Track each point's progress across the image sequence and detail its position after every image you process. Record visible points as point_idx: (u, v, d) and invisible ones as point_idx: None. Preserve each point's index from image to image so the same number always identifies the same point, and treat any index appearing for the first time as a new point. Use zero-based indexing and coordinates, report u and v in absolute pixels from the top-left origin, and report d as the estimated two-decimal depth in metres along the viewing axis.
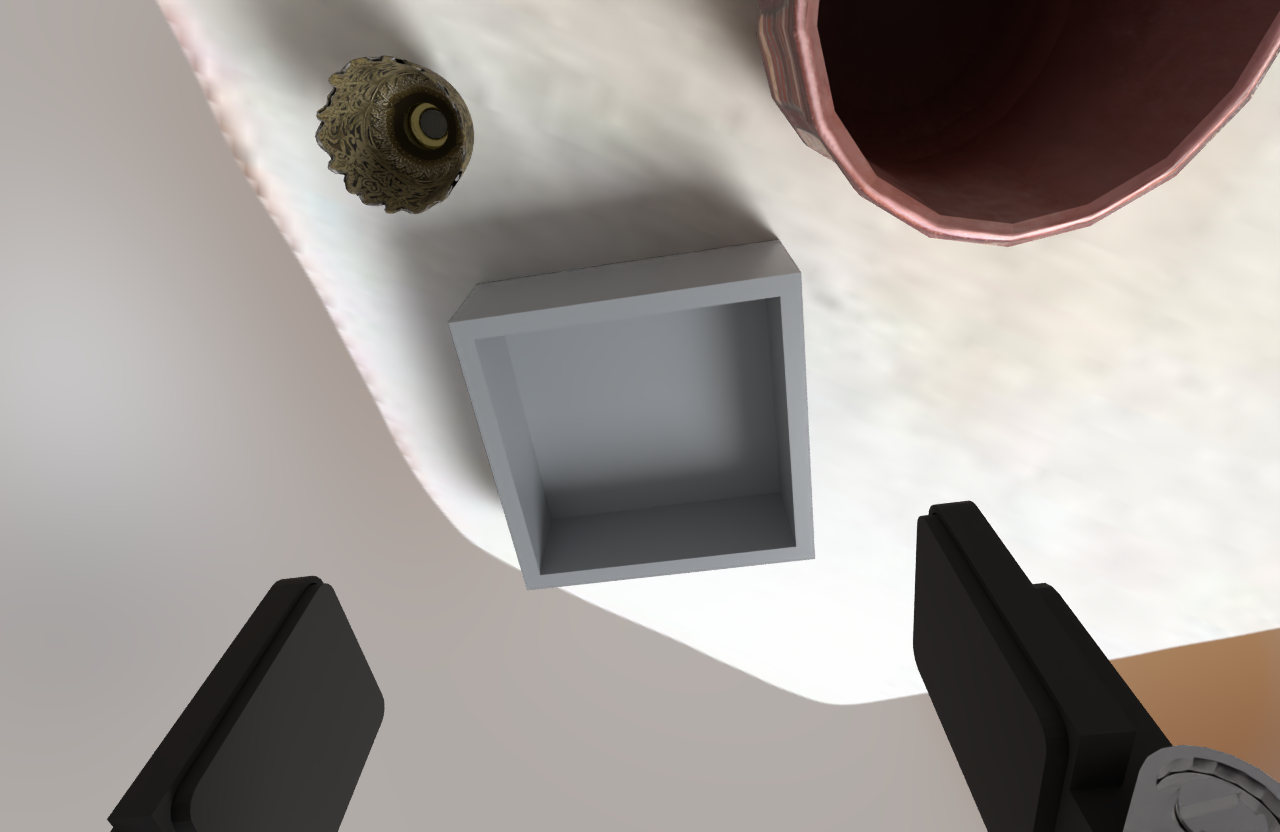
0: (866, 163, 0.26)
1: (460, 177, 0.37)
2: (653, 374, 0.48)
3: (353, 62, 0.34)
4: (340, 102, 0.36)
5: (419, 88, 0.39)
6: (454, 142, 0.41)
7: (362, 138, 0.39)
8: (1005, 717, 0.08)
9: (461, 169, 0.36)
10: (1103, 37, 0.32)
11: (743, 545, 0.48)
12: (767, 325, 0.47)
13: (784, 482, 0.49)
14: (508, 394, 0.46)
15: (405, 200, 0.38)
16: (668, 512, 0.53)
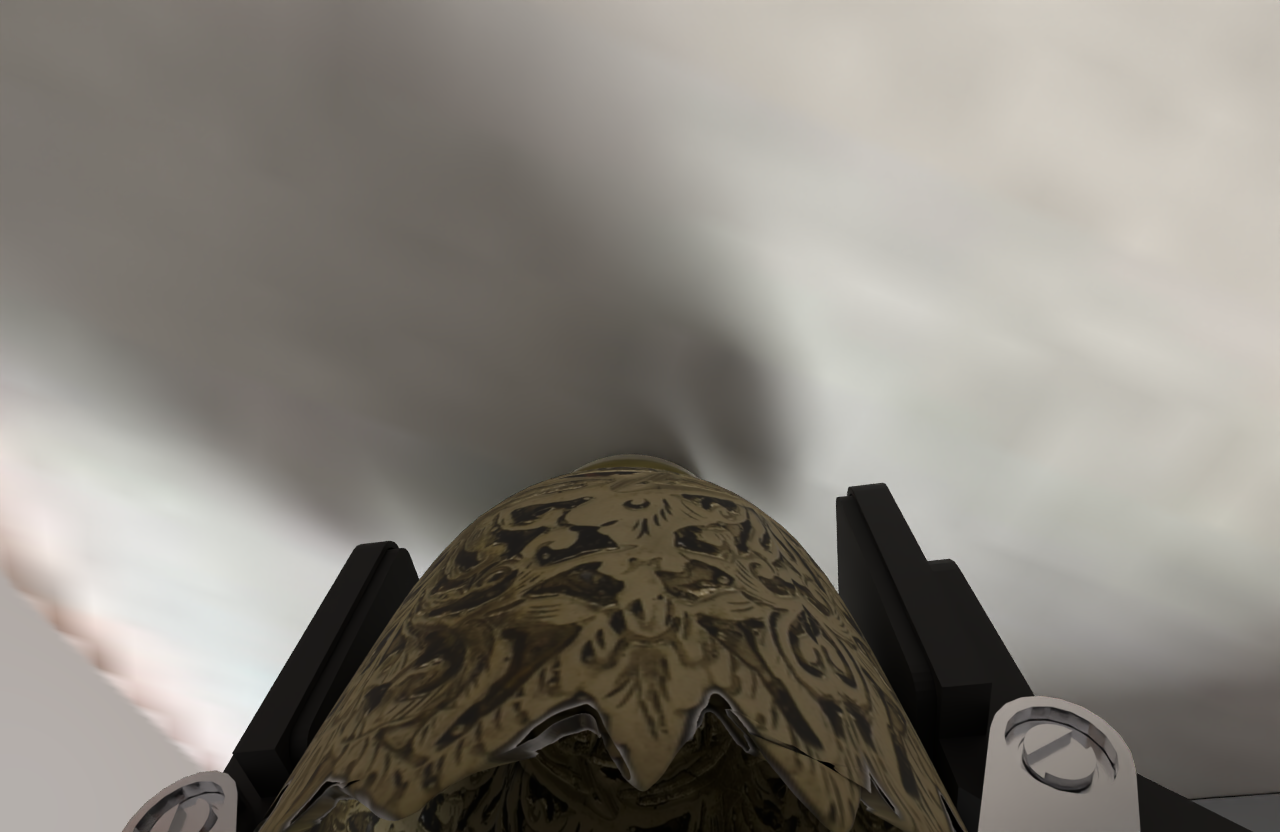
0: None
1: None
2: None
3: (417, 807, 0.05)
4: None
5: None
6: None
7: None
8: (893, 676, 0.08)
9: None
10: None
11: None
12: None
13: None
14: None
15: None
16: None
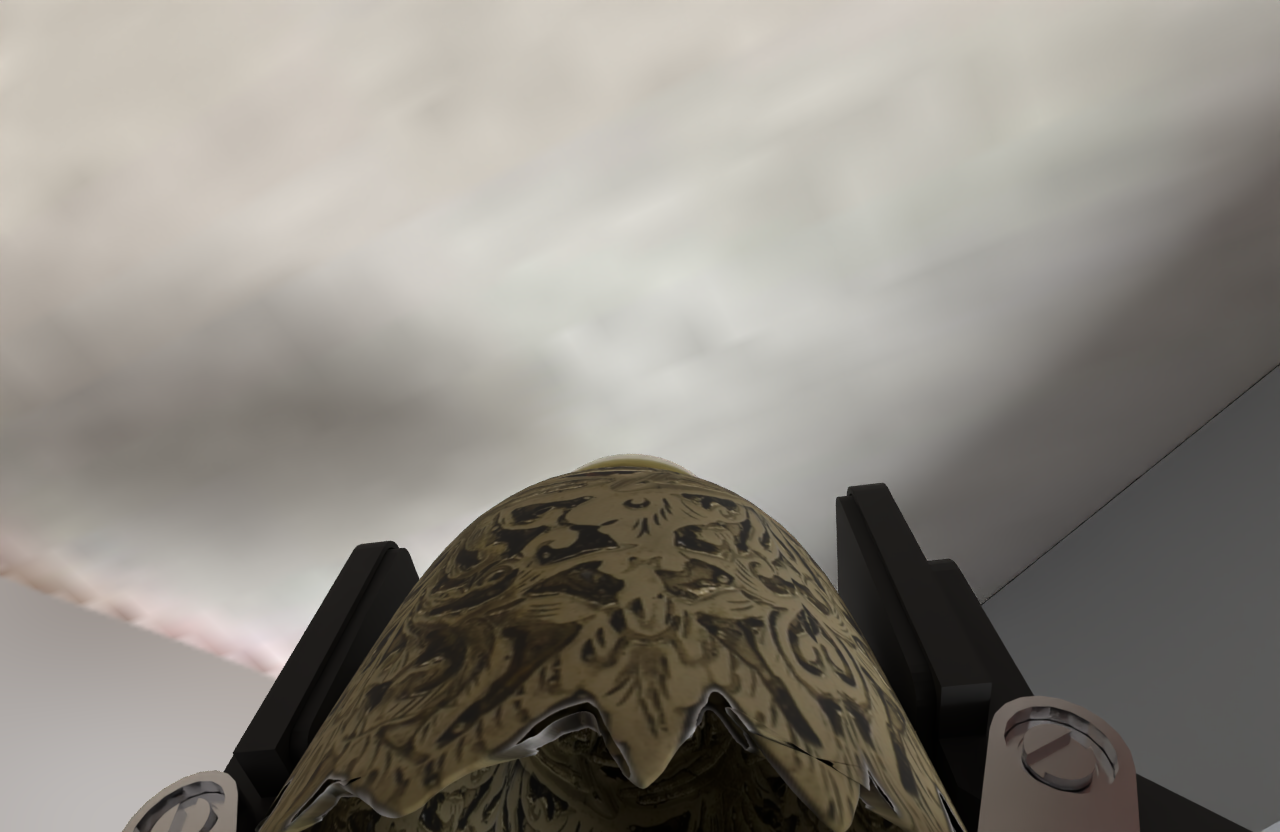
0: None
1: None
2: None
3: (418, 805, 0.05)
4: None
5: None
6: None
7: None
8: (893, 677, 0.08)
9: None
10: None
11: None
12: None
13: None
14: None
15: None
16: None
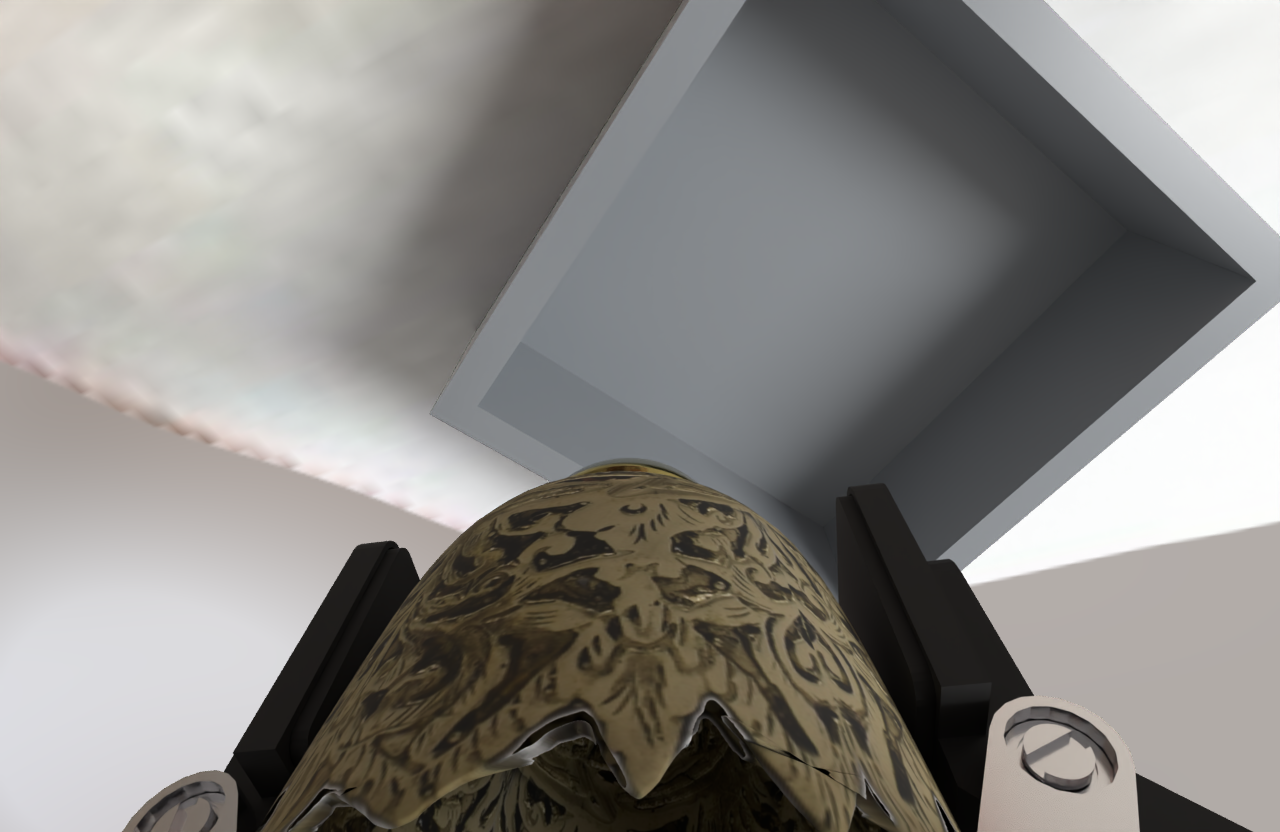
0: None
1: None
2: (776, 237, 0.27)
3: (414, 815, 0.05)
4: None
5: None
6: None
7: None
8: (893, 676, 0.08)
9: None
10: None
11: (1146, 356, 0.24)
12: (874, 2, 0.24)
13: (1126, 204, 0.24)
14: (613, 431, 0.28)
15: None
16: (971, 400, 0.30)
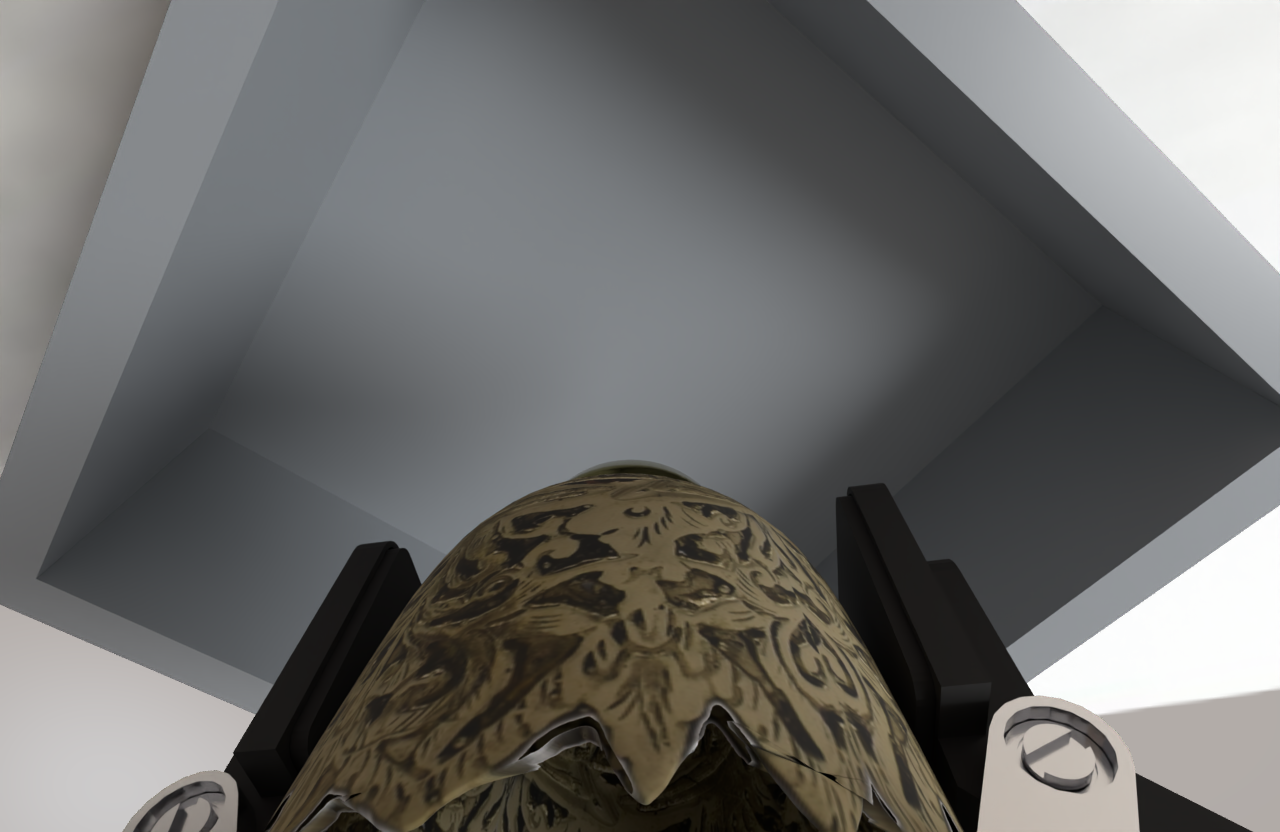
0: None
1: None
2: (580, 302, 0.18)
3: (419, 822, 0.05)
4: None
5: None
6: None
7: None
8: (893, 676, 0.08)
9: None
10: None
11: (1122, 524, 0.15)
12: None
13: (1096, 275, 0.15)
14: None
15: None
16: None
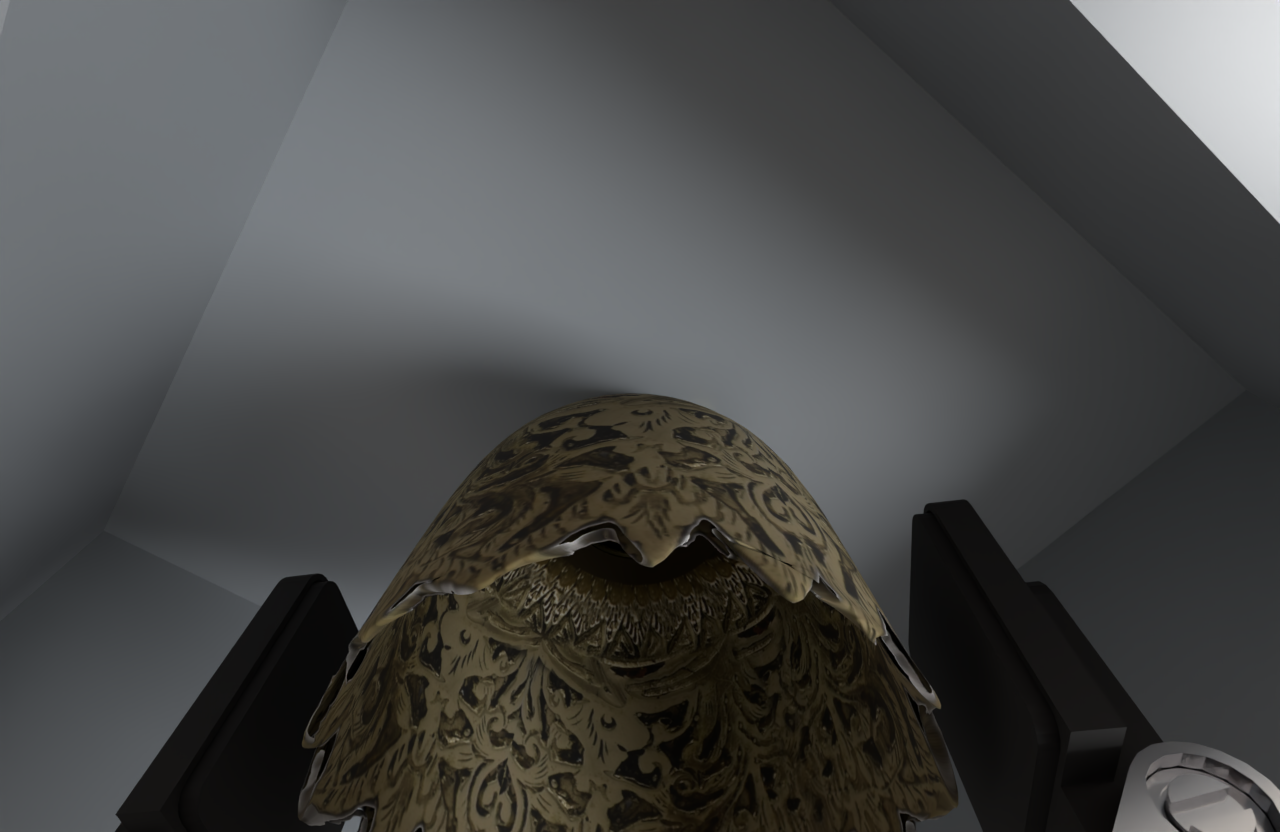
0: None
1: None
2: (568, 383, 0.14)
3: (488, 584, 0.07)
4: None
5: None
6: None
7: (457, 597, 0.12)
8: (997, 714, 0.08)
9: None
10: None
11: None
12: None
13: (1277, 371, 0.11)
14: None
15: None
16: None
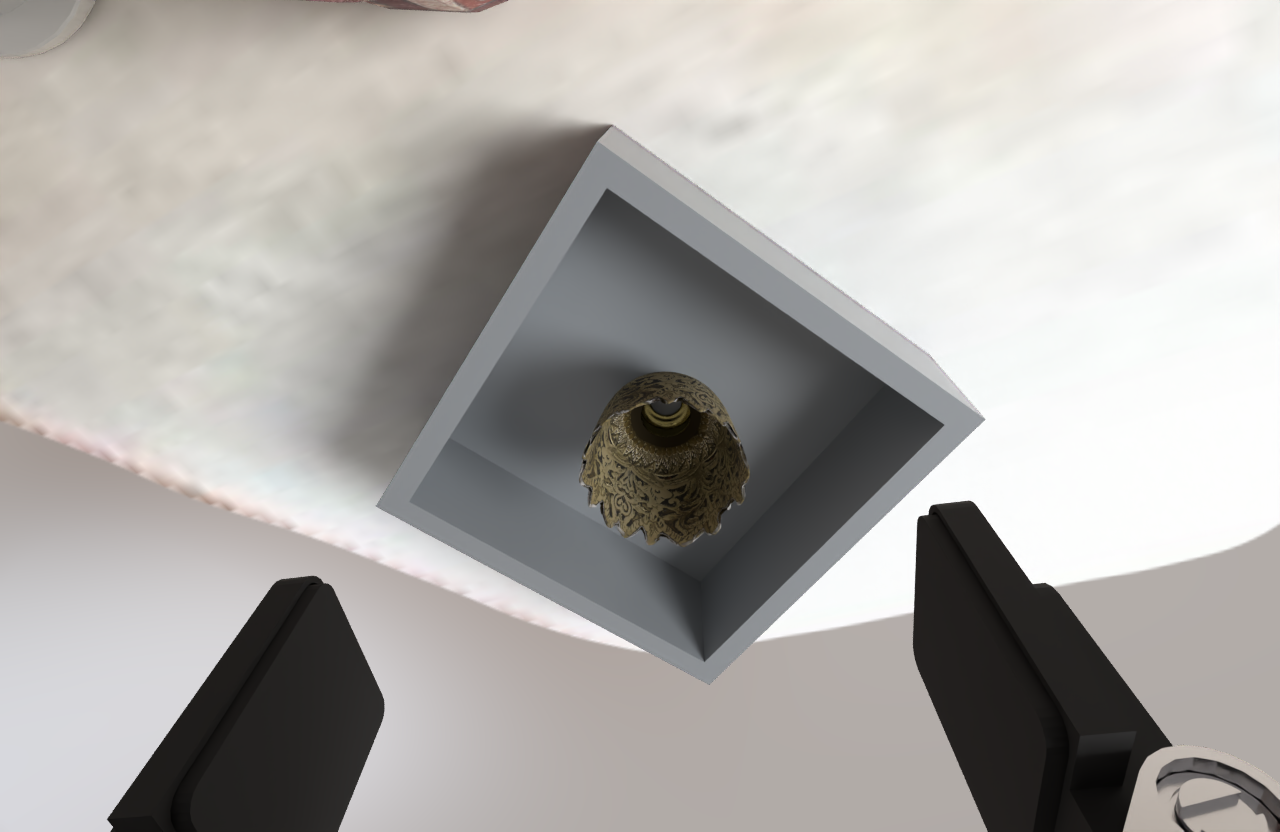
0: None
1: None
2: (639, 370, 0.37)
3: (632, 409, 0.29)
4: None
5: None
6: (697, 430, 0.36)
7: (605, 443, 0.35)
8: (1006, 717, 0.08)
9: (739, 503, 0.31)
10: None
11: (885, 471, 0.33)
12: None
13: None
14: (521, 511, 0.38)
15: (659, 517, 0.34)
16: (797, 489, 0.39)
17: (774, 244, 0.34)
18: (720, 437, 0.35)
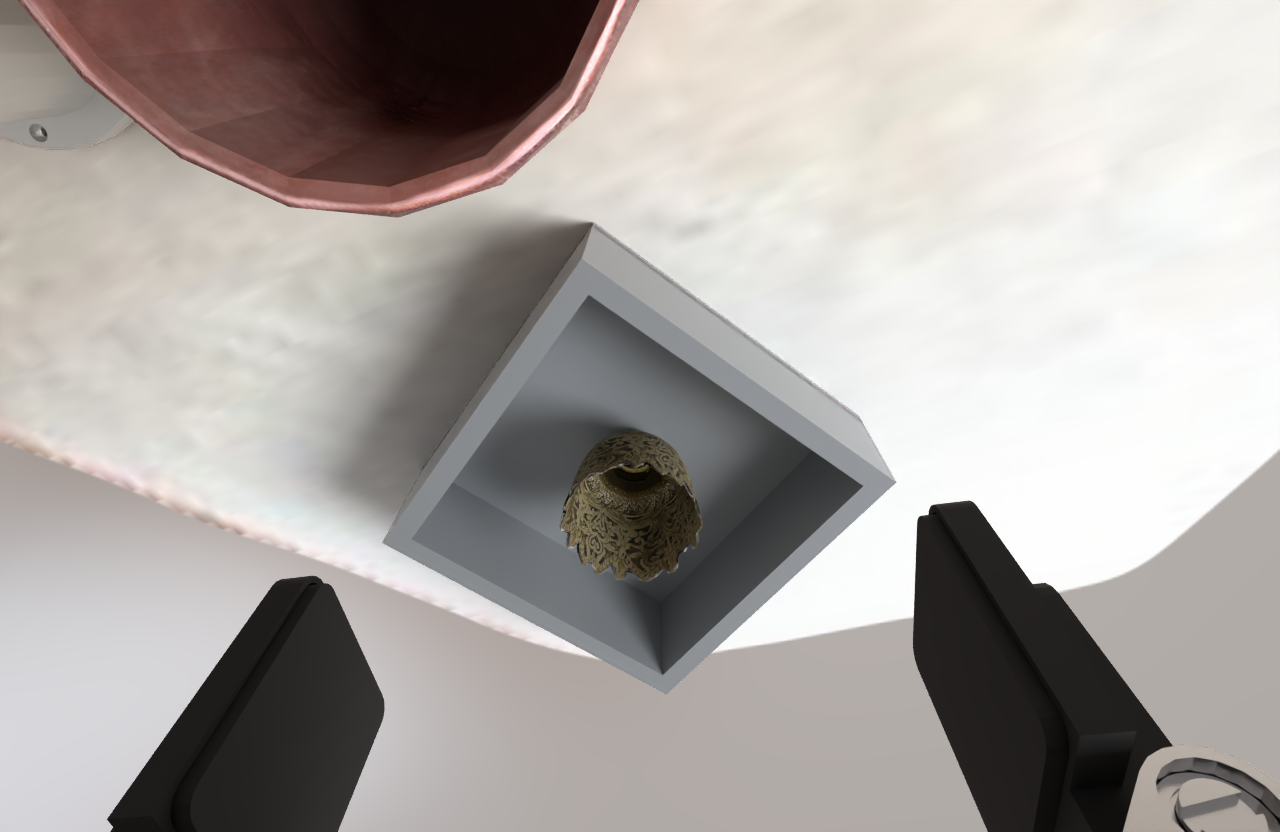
0: (366, 187, 0.20)
1: None
2: (611, 425, 0.43)
3: (605, 471, 0.35)
4: (577, 483, 0.38)
5: None
6: (660, 478, 0.42)
7: (581, 490, 0.41)
8: (1006, 717, 0.08)
9: (693, 547, 0.38)
10: None
11: (816, 520, 0.39)
12: None
13: None
14: (506, 543, 0.44)
15: (626, 554, 0.40)
16: (746, 527, 0.45)
17: (728, 325, 0.40)
18: (679, 485, 0.41)
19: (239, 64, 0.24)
